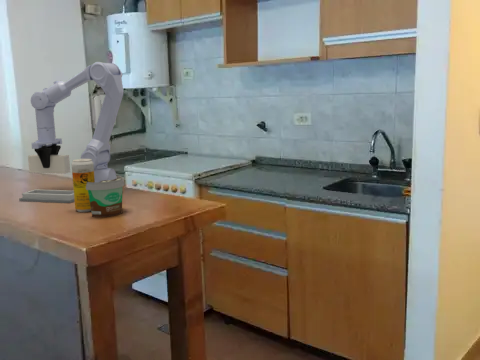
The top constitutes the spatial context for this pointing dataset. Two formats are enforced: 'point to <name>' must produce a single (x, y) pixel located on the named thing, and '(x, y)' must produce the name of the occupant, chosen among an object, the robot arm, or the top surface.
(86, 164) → the beer can
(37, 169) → the long cream rectangular block
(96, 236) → the top surface
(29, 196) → the stepped grey tray
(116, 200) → the food container
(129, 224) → the top surface
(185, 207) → the top surface
